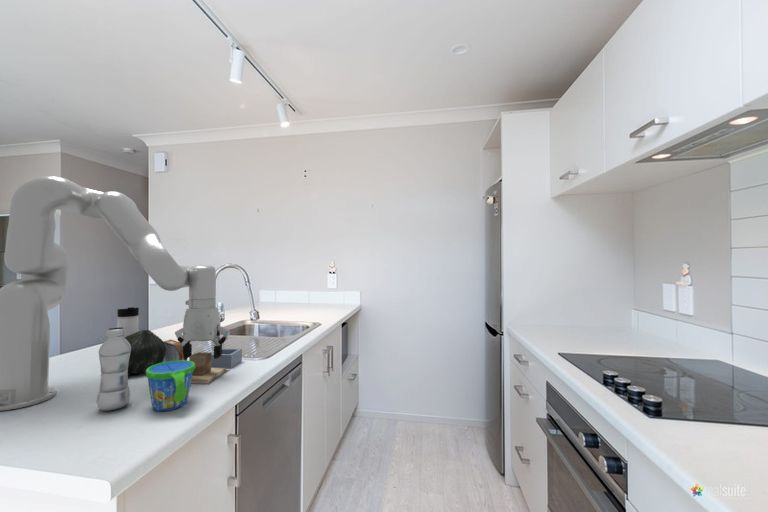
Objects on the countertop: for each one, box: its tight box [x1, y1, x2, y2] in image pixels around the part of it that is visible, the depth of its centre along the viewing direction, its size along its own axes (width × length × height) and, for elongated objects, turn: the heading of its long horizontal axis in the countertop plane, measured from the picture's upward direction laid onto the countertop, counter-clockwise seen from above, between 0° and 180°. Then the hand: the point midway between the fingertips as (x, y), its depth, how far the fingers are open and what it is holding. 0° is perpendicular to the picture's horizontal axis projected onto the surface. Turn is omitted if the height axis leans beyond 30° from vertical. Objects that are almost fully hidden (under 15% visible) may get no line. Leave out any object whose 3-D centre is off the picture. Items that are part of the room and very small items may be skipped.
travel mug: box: [116, 306, 140, 338], centre depth 119 cm, size 6×7×20 cm
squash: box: [125, 329, 166, 375], centre depth 107 cm, size 14×15×15 cm
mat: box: [190, 369, 231, 386], centre depth 103 cm, size 13×13×1 cm
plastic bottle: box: [96, 326, 131, 412], centre depth 81 cm, size 6×7×20 cm
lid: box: [188, 351, 227, 383], centre depth 103 cm, size 11×11×7 cm
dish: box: [211, 348, 243, 370], centre depth 115 cm, size 8×8×5 cm
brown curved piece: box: [163, 339, 188, 362], centre depth 115 cm, size 15×3×8 cm, turn 58°
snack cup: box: [145, 359, 195, 412], centre depth 83 cm, size 16×10×10 cm
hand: (202, 357), depth 103 cm, fingers open, 9 cm apart
